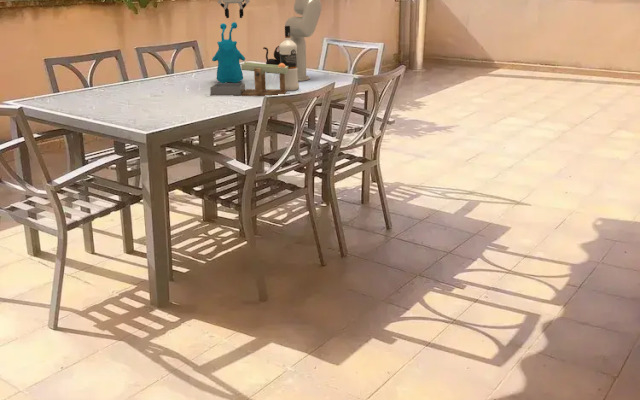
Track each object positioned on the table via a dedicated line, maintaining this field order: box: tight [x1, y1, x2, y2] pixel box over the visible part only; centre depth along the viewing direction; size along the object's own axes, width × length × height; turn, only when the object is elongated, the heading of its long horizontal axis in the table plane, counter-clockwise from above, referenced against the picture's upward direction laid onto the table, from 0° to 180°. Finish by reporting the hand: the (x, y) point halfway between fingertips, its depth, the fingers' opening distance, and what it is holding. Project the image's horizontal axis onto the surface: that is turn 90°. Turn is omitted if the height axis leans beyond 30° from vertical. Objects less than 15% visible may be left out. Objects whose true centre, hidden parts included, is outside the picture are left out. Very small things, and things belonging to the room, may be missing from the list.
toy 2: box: [262, 45, 280, 74], centre depth 378 cm, size 8×14×15 cm, turn 69°
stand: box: [241, 68, 288, 97], centre depth 321 cm, size 20×11×12 cm, turn 84°
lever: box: [241, 61, 288, 75], centre depth 324 cm, size 22×16×4 cm
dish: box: [210, 82, 246, 97], centre depth 324 cm, size 10×14×4 cm
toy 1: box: [211, 21, 246, 83], centre depth 351 cm, size 17×18×30 cm
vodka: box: [278, 25, 300, 92], centre depth 327 cm, size 9×9×30 cm
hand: (234, 17), depth 328 cm, fingers open, 5 cm apart
